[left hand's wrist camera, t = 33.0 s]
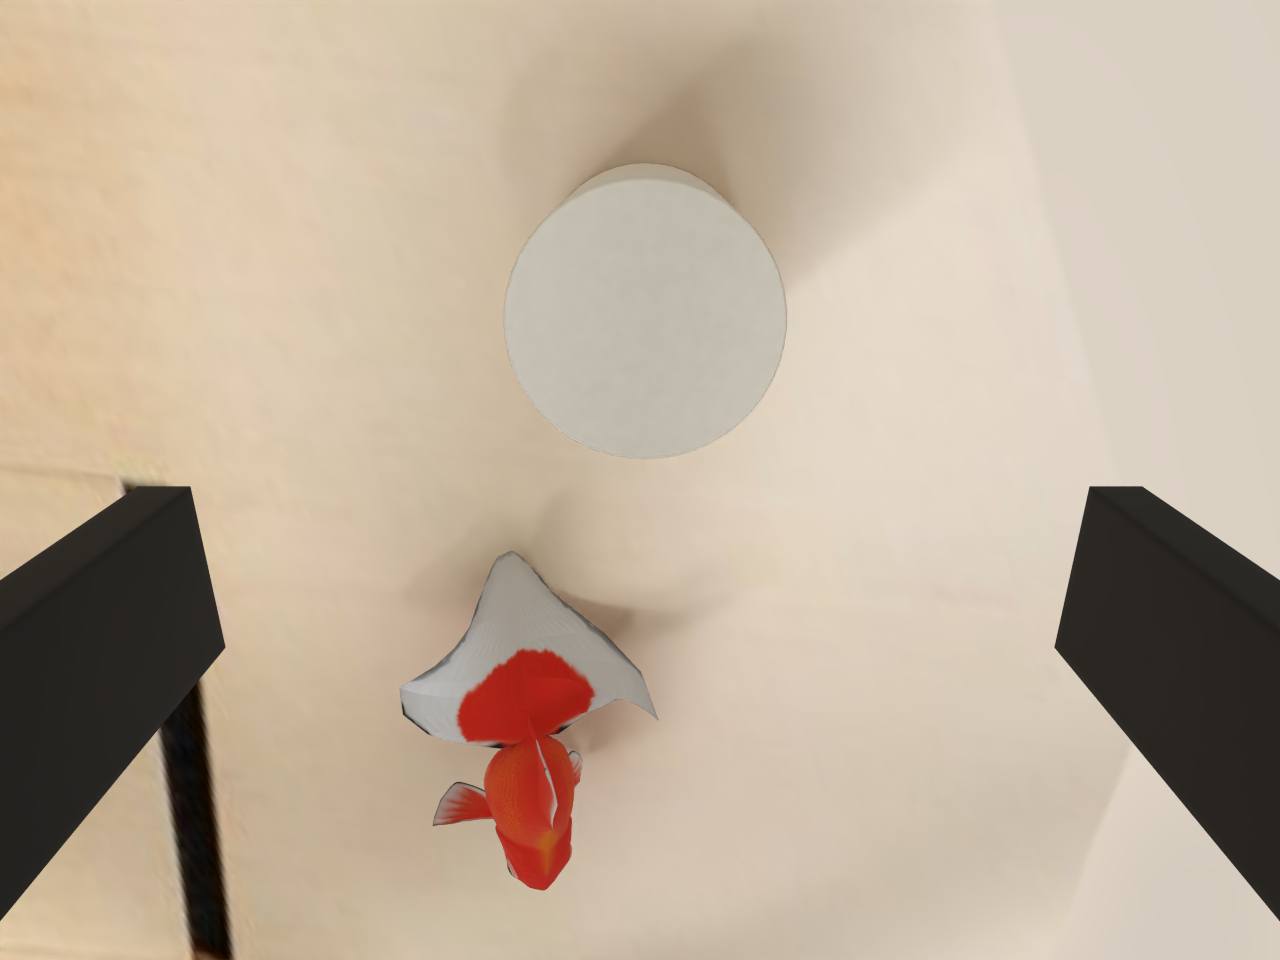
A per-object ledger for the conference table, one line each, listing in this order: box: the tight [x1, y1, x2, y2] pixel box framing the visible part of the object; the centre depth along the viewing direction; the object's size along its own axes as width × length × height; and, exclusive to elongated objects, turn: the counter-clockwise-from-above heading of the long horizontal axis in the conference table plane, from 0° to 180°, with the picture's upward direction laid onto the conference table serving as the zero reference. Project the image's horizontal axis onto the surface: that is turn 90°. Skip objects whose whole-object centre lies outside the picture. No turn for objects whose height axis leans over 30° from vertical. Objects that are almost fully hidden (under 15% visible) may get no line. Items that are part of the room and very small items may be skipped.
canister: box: [504, 163, 787, 459], centre depth 30 cm, size 9×9×10 cm
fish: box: [400, 551, 659, 890], centre depth 38 cm, size 11×16×10 cm
